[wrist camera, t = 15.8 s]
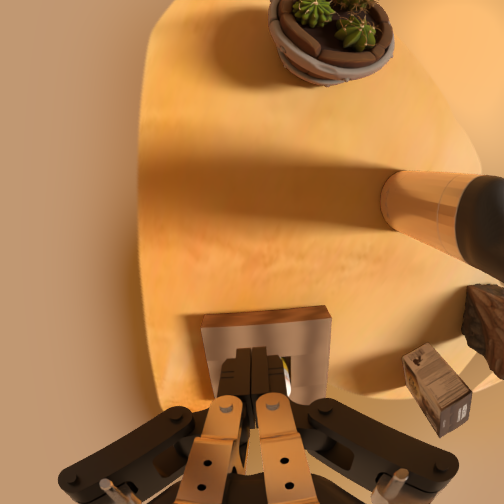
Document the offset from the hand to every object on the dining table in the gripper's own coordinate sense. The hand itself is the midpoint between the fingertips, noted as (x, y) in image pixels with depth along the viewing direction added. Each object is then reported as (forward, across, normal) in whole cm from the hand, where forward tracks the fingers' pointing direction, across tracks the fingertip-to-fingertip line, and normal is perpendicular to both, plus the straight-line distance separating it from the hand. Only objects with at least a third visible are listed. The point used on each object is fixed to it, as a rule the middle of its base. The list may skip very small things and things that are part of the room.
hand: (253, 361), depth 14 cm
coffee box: (+27, -29, +27) cm, 48 cm away
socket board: (+26, 0, +19) cm, 32 cm away
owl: (+27, -44, +16) cm, 54 cm away
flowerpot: (+26, -12, -26) cm, 39 cm away
